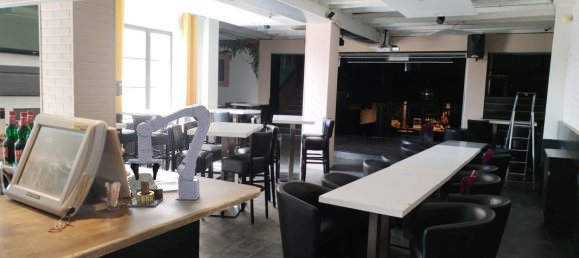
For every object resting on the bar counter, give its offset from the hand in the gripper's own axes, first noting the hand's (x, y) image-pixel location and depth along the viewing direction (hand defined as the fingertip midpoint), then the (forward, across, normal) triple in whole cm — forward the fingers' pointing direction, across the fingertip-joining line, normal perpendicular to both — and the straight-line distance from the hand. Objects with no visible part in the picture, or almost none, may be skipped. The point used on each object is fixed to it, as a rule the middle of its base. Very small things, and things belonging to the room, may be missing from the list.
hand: (146, 179), depth 189 cm
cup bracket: (+10, 0, -1) cm, 10 cm away
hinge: (+11, -9, +18) cm, 23 cm away
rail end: (+9, 0, -1) cm, 9 cm away
